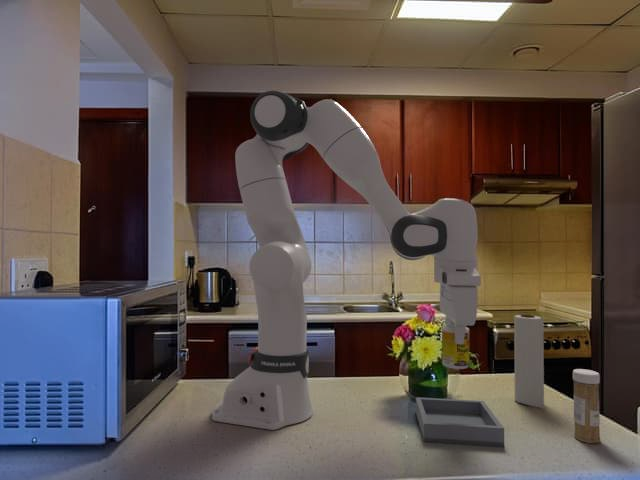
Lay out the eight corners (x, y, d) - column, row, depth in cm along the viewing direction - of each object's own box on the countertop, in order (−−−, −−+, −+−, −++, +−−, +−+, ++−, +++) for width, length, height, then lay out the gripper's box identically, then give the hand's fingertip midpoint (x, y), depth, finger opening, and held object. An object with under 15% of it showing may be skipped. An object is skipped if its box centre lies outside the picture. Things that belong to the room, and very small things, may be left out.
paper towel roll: (513, 396, 108) (513, 313, 108) (540, 399, 106) (539, 315, 106) (515, 405, 101) (515, 317, 102) (544, 409, 99) (543, 319, 100)
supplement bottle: (457, 371, 84) (457, 320, 85) (436, 365, 89) (436, 316, 89) (475, 367, 87) (475, 318, 88) (453, 361, 92) (453, 315, 92)
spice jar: (603, 445, 80) (603, 375, 81) (577, 442, 82) (576, 373, 82) (596, 436, 84) (595, 369, 85) (570, 433, 86) (570, 367, 86)
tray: (423, 441, 81) (423, 423, 81) (415, 412, 96) (415, 397, 96) (504, 447, 79) (504, 428, 79) (483, 416, 94) (483, 400, 94)
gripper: (433, 272, 99) (433, 330, 99) (448, 277, 79) (448, 350, 79) (460, 272, 99) (460, 331, 98) (483, 277, 78) (483, 351, 78)
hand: (455, 340), depth 88 cm, fingers closed on supplement bottle, 6 cm apart
